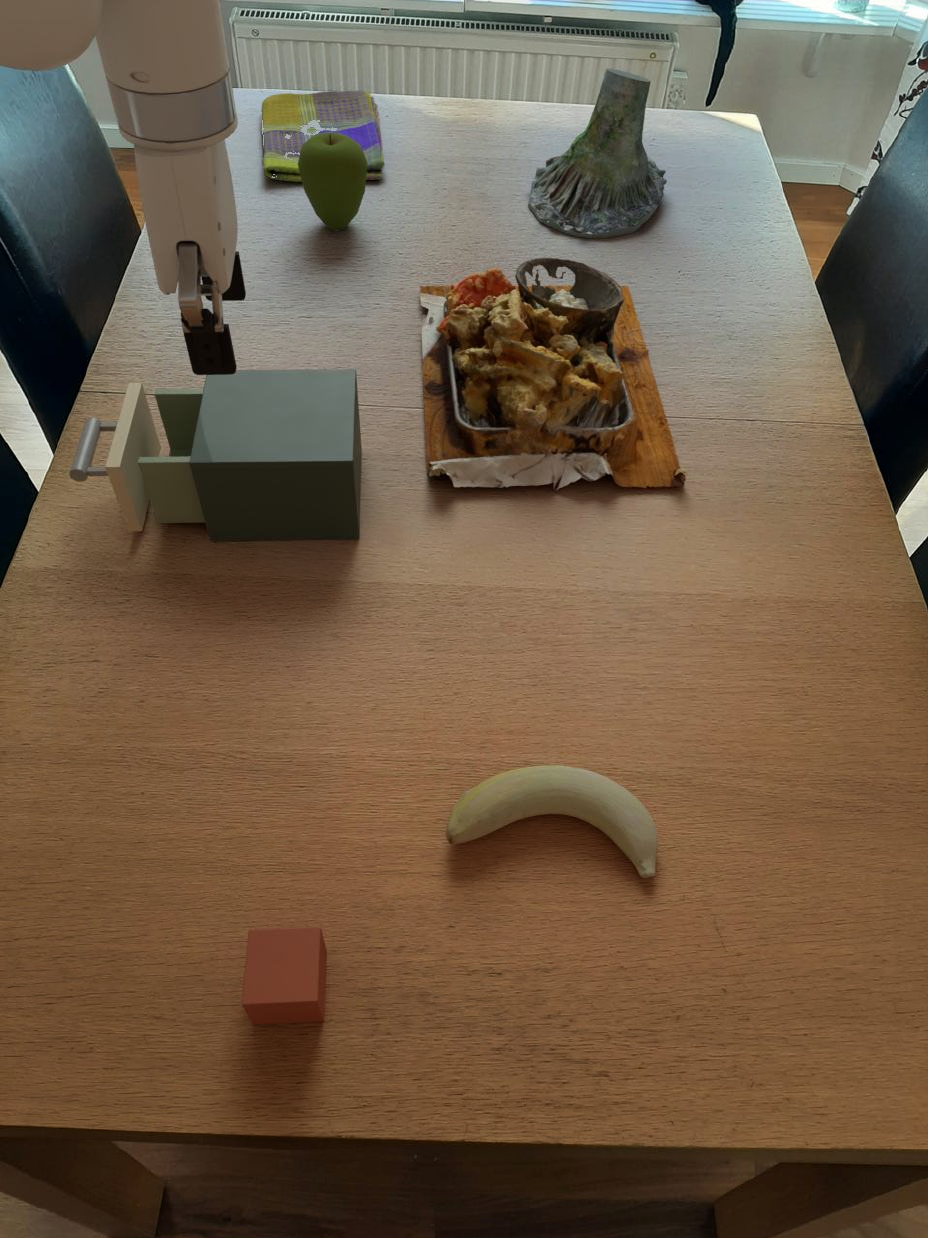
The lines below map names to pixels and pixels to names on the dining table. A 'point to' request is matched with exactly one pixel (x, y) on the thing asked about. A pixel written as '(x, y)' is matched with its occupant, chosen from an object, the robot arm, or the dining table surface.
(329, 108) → the dish towel
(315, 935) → the block
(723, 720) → the dining table surface
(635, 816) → the fruit
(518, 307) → the food tray
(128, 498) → the drawer
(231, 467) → the cabinet
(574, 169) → the tree stump
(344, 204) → the apple
